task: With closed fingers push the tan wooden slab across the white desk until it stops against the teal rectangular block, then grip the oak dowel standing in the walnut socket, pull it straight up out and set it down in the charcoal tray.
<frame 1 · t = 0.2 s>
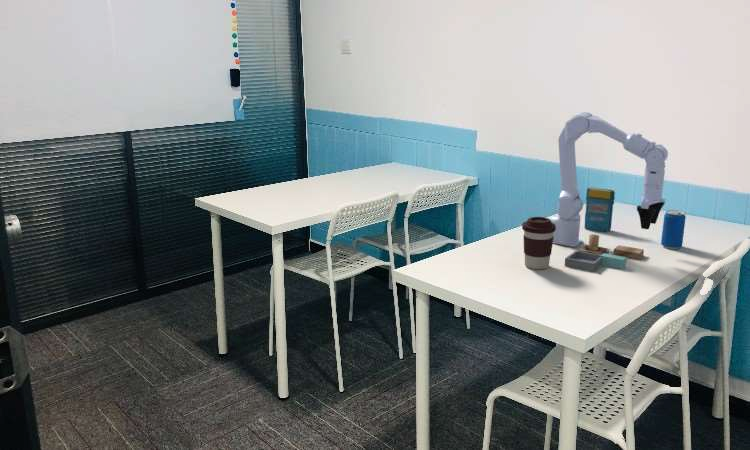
hand: (648, 225, 208), 10 cm above the table, fingers open, 7 cm apart
tan wooden slab: (628, 256, 211), on the table
dowel: (593, 246, 209), in the socket
coffee cup: (536, 266, 202), on the table
socket: (592, 256, 210), on the table
beverage can: (671, 247, 218), on the table
teal coffee bag: (596, 230, 239), on the table
tray: (584, 264, 203), on the table
teal rectangular block: (612, 265, 202), on the table
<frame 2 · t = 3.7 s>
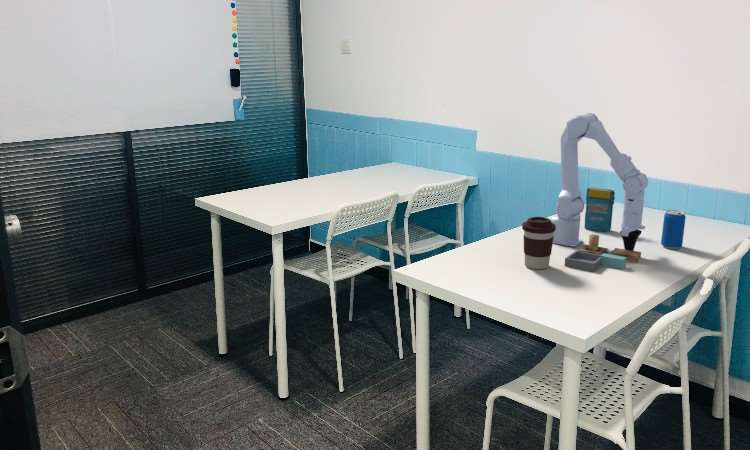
hand: (628, 252, 210), 1 cm above the table, fingers closed
tan wooden slab: (625, 259, 208), on the table
everything else where it was.
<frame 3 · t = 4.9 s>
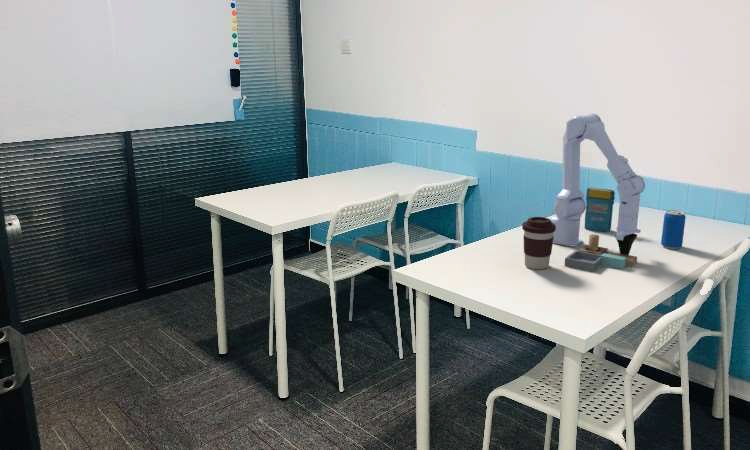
hand: (624, 256, 207), 1 cm above the table, fingers closed
tan wooden slab: (621, 263, 205), on the table, touching gripper
everything else where it was.
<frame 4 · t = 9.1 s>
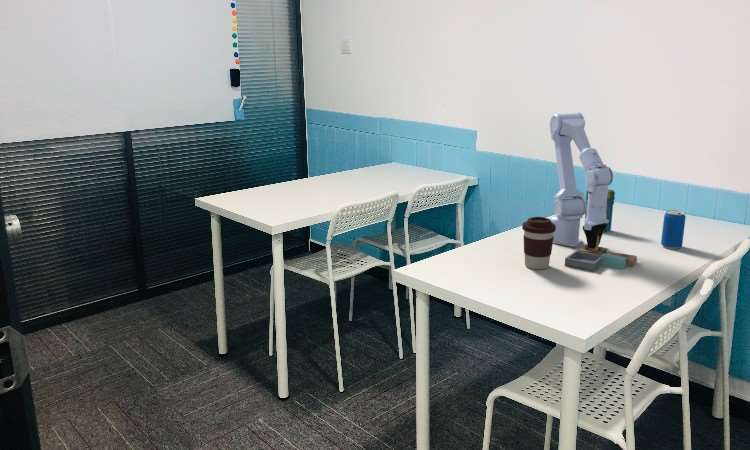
hand: (593, 246, 209), 3 cm above the table, fingers closed on dowel, 3 cm apart
tan wooden slab: (621, 263, 204), on the table
dowel: (593, 246, 209), in the socket, touching gripper
everything else where it was.
when the fingers open (5 cm above the table, at t = 12.1 s): dowel stays where it is, resting on tray.
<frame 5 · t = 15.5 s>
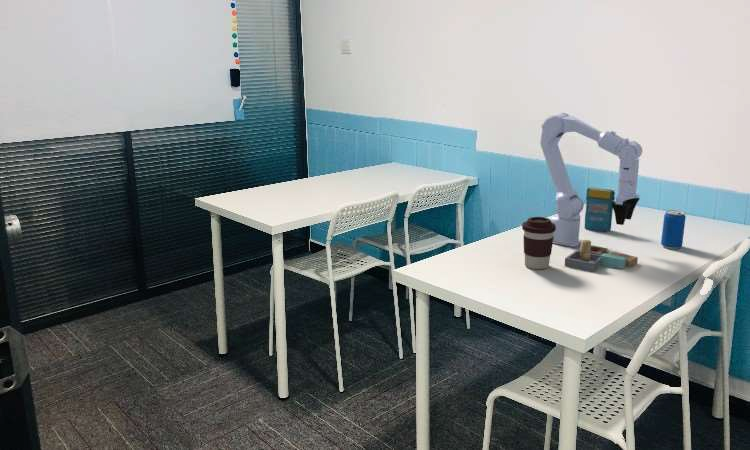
hand: (623, 221, 211), 10 cm above the table, fingers open, 7 cm apart
dowel: (585, 252, 202), in the tray, point 4 cm above the table
at the end: tan wooden slab inside the target area (0.3 cm from its centre), on the table; dowel inside the target area on the tray (0.1 cm from its centre), point 4.1 cm above the tray's base; the gripper is holding nothing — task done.
